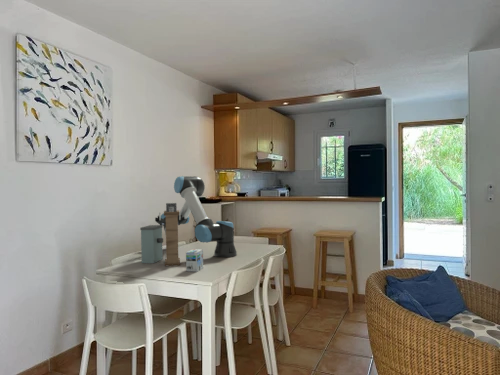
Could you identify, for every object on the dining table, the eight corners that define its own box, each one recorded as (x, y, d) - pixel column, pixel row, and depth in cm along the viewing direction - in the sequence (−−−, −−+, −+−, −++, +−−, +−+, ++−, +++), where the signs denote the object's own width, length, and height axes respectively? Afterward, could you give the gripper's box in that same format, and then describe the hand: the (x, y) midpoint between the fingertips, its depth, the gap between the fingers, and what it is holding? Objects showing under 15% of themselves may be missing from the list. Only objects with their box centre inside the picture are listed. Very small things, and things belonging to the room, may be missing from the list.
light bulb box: (197, 272, 204) (197, 252, 204) (185, 271, 206) (185, 252, 206) (203, 267, 215) (203, 249, 215) (192, 267, 216) (192, 248, 216)
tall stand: (180, 265, 223) (179, 211, 223) (164, 266, 221) (163, 212, 221) (179, 260, 238) (178, 210, 238) (165, 261, 236) (164, 210, 236)
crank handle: (176, 211, 224) (176, 203, 224) (166, 212, 222) (166, 203, 222) (176, 209, 251) (176, 201, 251) (167, 209, 250) (167, 201, 250)
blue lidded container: (167, 258, 244) (166, 225, 244) (158, 263, 230) (157, 227, 230) (150, 258, 246) (150, 225, 246) (140, 263, 231) (140, 227, 231)
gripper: (187, 230, 274) (188, 218, 256) (152, 232, 269) (151, 219, 251) (187, 221, 278) (188, 208, 260) (152, 222, 273) (151, 209, 255)
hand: (169, 214), depth 256 cm, fingers open, 13 cm apart
